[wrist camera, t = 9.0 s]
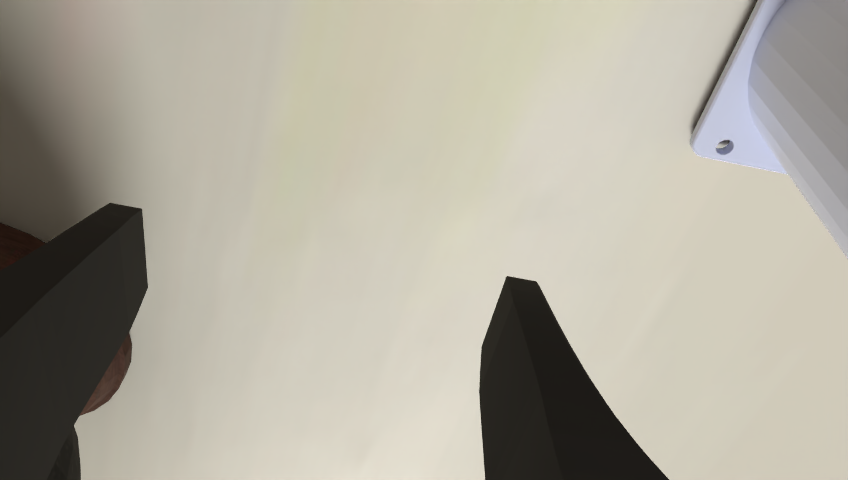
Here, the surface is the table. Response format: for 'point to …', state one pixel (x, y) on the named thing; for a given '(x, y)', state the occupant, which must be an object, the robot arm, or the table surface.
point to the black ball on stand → (12, 245)
